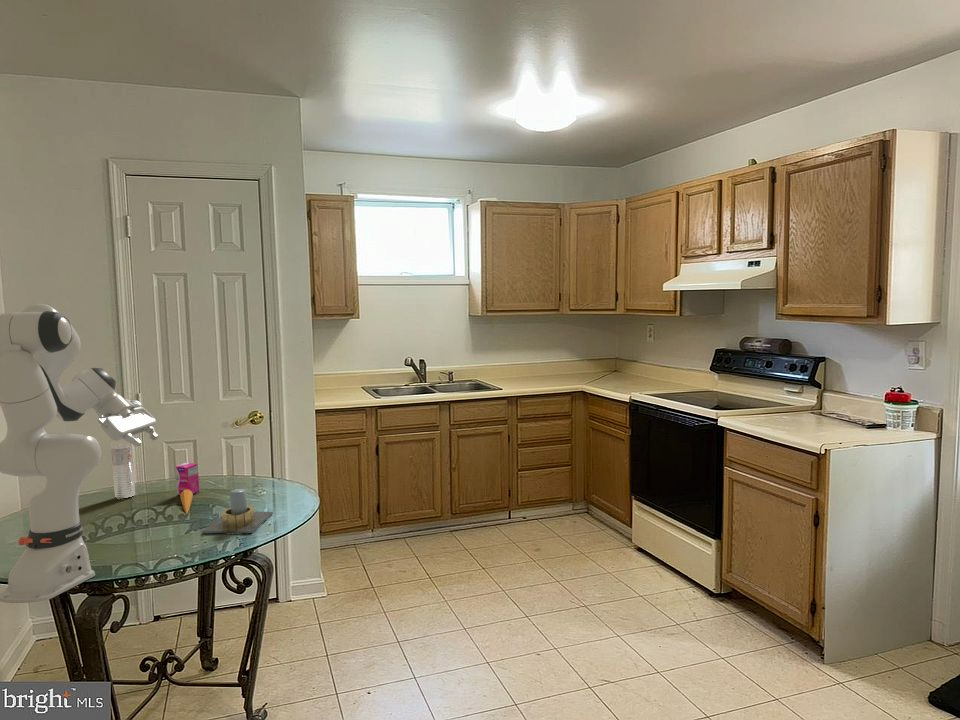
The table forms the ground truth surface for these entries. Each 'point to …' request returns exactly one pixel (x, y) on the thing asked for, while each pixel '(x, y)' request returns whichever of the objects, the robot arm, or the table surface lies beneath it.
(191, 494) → the carrot
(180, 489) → the supplement box
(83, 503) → the table surface
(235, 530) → the mounting plate
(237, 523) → the brass socket
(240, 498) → the grey capsule peg
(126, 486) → the water bottle
